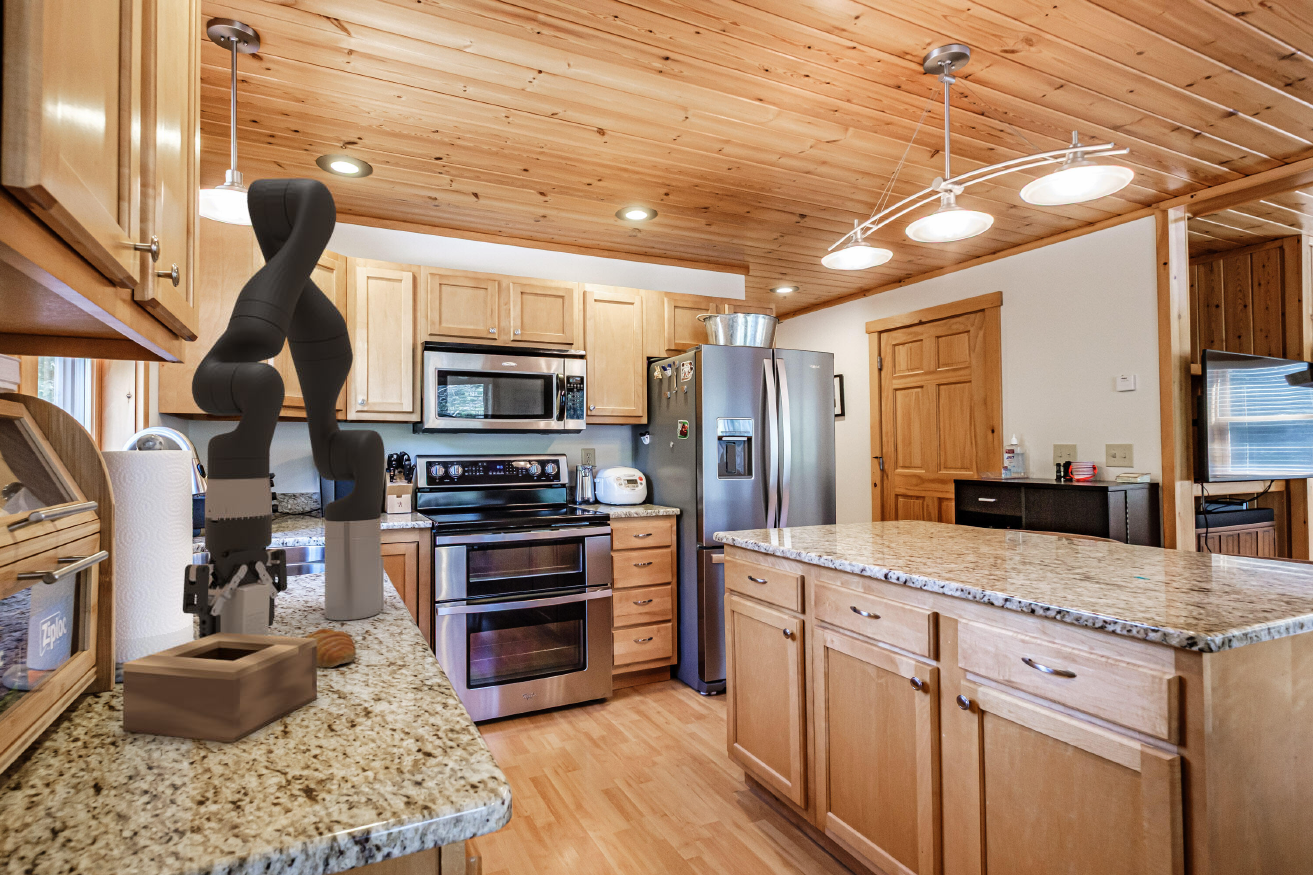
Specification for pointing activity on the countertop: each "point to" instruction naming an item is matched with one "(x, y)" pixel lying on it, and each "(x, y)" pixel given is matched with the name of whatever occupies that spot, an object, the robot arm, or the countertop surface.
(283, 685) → the slot box
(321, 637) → the pastry
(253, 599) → the skincare box
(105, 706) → the countertop surface
